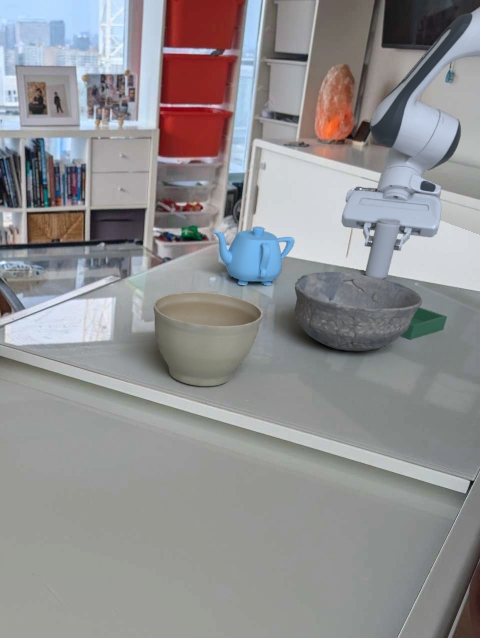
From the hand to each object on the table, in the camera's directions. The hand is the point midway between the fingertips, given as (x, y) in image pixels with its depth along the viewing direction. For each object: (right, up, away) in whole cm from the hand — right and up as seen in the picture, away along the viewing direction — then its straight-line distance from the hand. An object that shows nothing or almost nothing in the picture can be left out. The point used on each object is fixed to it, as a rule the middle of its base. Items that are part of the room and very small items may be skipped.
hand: (382, 247), depth 164 cm
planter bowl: (-46, -36, -45) cm, 74 cm away
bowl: (-19, -28, -32) cm, 46 cm away
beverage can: (0, -5, +4) cm, 7 cm away
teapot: (-30, -8, -2) cm, 31 cm away
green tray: (-5, -22, -22) cm, 32 cm away
